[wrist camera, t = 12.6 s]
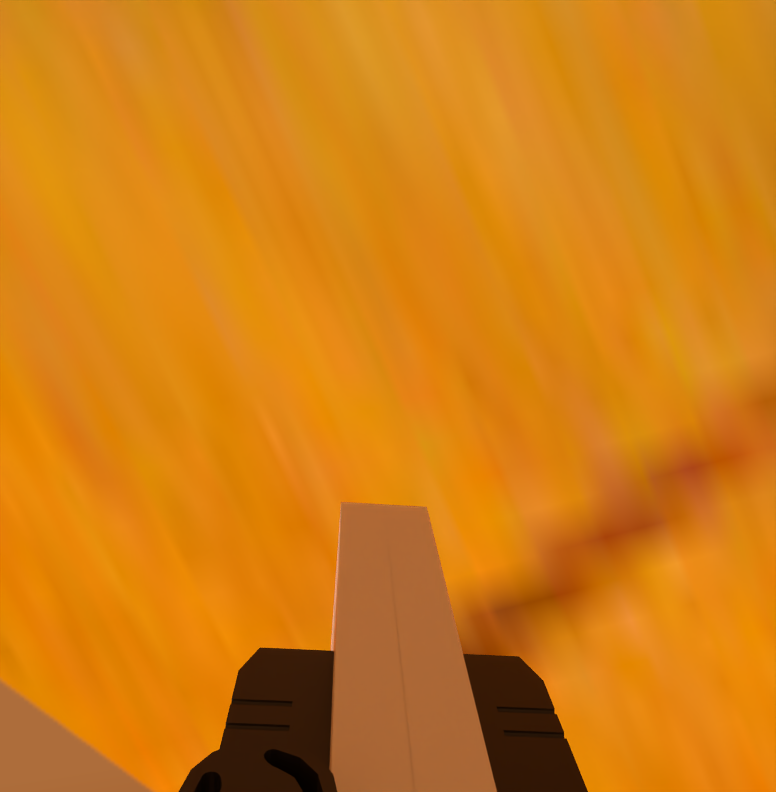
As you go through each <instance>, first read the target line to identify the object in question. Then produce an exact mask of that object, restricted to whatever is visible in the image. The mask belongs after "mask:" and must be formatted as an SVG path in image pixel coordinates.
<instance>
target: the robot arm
mask: <svg viewBox="0 0 776 792" xmlns="http://www.w3.org/2000/svg"><path fill="white" fill-rule="evenodd" d="M179 792H588V791H587V788H586V786H585V784H584V781H583V779H582V776H581V774H580V771H579V769H578V766H577V764H576V761H575V759H574V756H573V754H572V751H571V749H570V746H569V744H568V741H567V739H564V731H563V729H562V726H561V724H560V721H559V719H558V716H557V714H555V713H554V706H553V704H552V701H551V699H550V696H549V694H548V691H547V689H546V686H545V684H544V681H543V680H542V679H541V678H540V677H539V676H538V675H537V674H536V673H535V672H534V671H533V670H532V669H531V668H530V667H529V666H528V665H527V664H526V663H525V662H524V661H523V660H522V659H521V658H520V657H517V656H495V655H473V654H463V652H462V648H461V644H460V640H459V636H458V632H457V628H456V624H455V620H454V616H453V612H452V608H451V604H450V600H449V596H448V592H447V587H446V583H445V579H444V575H443V571H442V567H441V563H440V559H439V555H438V551H437V547H436V543H435V539H434V535H433V531H432V527H431V523H430V519H429V515H428V511H427V507H417V506H400V505H383V504H365V503H348V502H341V512H340V526H339V540H338V555H337V569H336V583H335V597H334V611H333V625H332V639H331V651H323V650H301V649H279V648H259V649H258V650H257V651H256V653H255V654H254V655H253V656H252V657H251V658H250V659H249V660H248V661H247V662H246V663H245V664H244V665H243V667H242V668H241V669H240V670H239V671H238V676H237V680H236V684H235V688H234V692H233V696H232V703H231V704H230V708H229V712H228V717H227V721H226V728H225V729H224V733H223V737H222V741H221V745H220V749H219V750H217V751H214V752H212V753H211V754H210V755H209V756H207V757H206V758H205V759H204V760H202V761H201V762H200V763H199V764H197V765H196V766H195V767H194V768H192V769H191V771H190V772H189V774H188V776H187V778H186V780H185V781H184V783H183V785H182V787H181V789H180V790H179Z"/></svg>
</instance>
